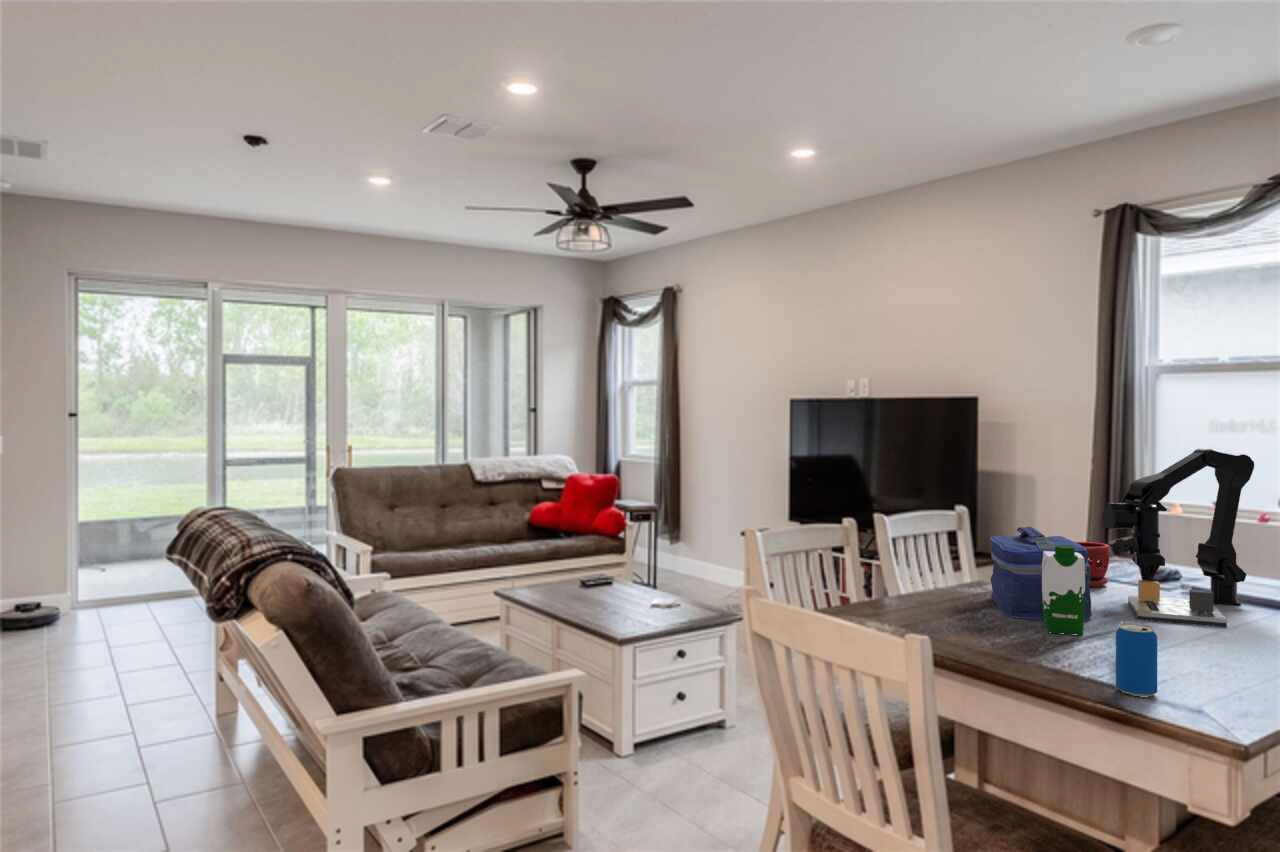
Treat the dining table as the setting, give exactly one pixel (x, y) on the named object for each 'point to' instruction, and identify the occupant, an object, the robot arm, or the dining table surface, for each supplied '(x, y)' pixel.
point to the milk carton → (1063, 590)
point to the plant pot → (1097, 568)
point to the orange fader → (1149, 591)
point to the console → (1174, 612)
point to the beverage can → (1136, 659)
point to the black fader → (1201, 601)
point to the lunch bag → (1026, 572)
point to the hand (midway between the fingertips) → (1145, 587)
